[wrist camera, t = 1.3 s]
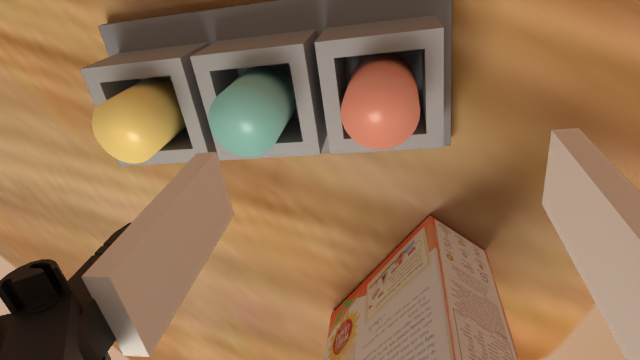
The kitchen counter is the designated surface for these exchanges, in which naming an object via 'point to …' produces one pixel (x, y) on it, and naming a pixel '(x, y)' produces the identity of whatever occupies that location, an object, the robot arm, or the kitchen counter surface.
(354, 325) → the cracker box
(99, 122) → the mustard button
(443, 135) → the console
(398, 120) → the salmon button
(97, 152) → the kitchen counter surface
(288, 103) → the teal button
